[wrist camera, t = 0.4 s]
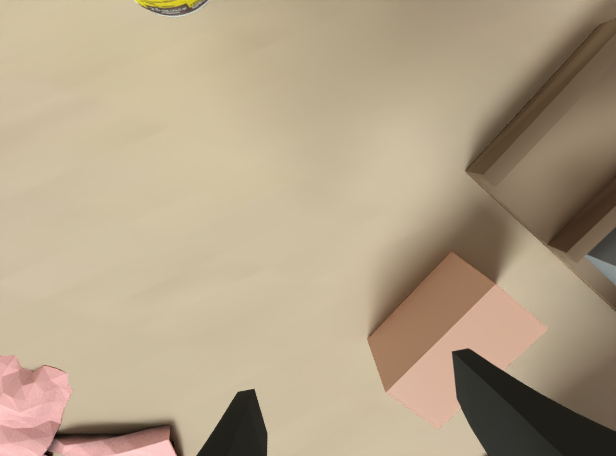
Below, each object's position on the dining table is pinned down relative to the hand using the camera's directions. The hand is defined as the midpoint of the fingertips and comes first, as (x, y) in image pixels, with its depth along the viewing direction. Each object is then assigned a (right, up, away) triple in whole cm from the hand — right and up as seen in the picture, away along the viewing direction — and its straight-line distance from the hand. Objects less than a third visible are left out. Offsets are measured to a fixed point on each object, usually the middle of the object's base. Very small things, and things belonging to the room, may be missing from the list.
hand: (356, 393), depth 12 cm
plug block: (+6, 0, +10) cm, 12 cm away
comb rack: (+16, +8, +8) cm, 20 cm away
